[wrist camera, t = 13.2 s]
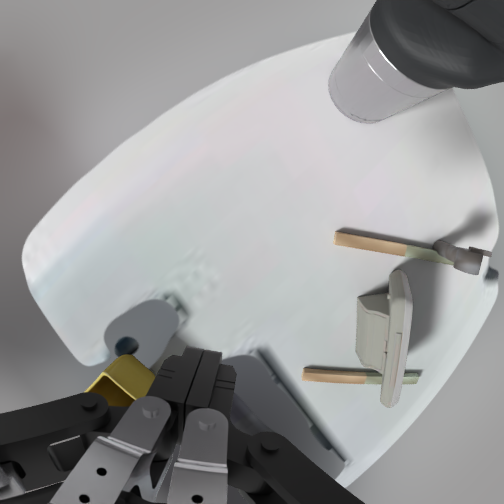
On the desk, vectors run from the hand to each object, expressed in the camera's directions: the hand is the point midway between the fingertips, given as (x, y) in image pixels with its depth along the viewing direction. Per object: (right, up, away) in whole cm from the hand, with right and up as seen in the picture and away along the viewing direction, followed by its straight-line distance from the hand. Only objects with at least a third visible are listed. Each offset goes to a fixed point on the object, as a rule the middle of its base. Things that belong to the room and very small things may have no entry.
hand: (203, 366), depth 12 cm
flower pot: (-17, -15, +32) cm, 39 cm away
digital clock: (+21, -5, +28) cm, 36 cm away
